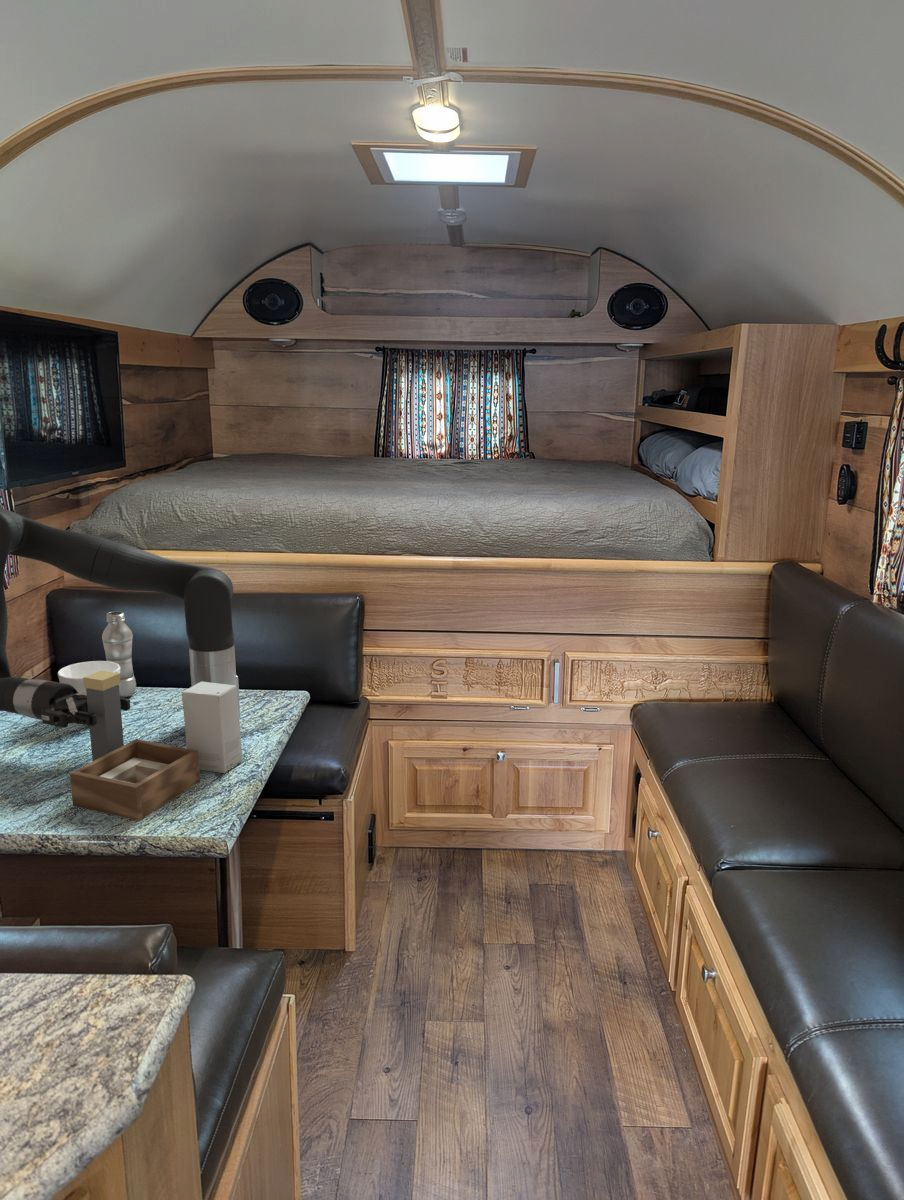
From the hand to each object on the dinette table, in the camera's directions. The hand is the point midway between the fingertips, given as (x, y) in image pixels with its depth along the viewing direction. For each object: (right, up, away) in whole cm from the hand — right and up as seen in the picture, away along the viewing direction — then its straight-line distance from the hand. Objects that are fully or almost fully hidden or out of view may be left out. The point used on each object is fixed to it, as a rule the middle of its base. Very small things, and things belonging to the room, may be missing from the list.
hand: (112, 712), depth 155 cm
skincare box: (+18, -11, +4) cm, 21 cm away
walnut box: (+8, -13, -8) cm, 17 cm away
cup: (-15, -5, +27) cm, 31 cm away
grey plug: (-2, -11, +3) cm, 11 cm away
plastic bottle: (-14, -2, +40) cm, 43 cm away
